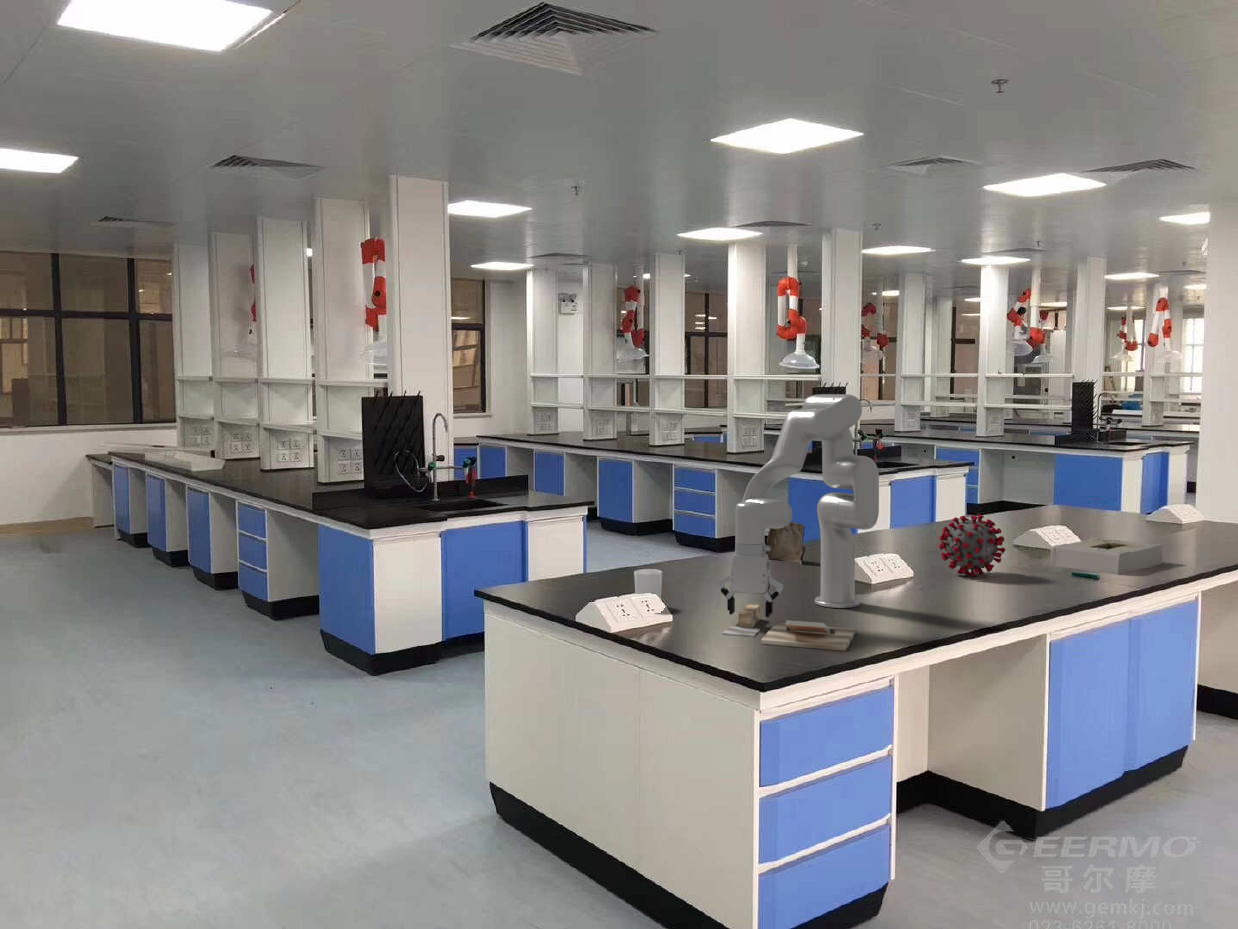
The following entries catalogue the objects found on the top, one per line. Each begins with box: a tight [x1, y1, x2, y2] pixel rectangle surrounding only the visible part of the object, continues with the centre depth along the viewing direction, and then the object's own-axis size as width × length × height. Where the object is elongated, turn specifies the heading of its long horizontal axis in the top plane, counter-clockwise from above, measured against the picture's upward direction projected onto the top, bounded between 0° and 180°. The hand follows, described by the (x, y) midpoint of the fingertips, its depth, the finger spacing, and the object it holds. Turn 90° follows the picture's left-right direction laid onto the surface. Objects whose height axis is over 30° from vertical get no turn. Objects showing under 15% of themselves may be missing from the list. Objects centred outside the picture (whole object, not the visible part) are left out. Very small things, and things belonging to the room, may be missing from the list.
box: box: [1050, 537, 1163, 576], centre depth 330 cm, size 23×8×32 cm
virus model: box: [938, 514, 1006, 577], centre depth 313 cm, size 20×20×20 cm
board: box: [760, 622, 857, 652], centre depth 236 cm, size 18×20×2 cm
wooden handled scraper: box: [722, 603, 761, 638], centre depth 248 cm, size 19×8×4 cm, turn 160°
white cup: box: [633, 568, 663, 600], centre depth 272 cm, size 8×8×10 cm
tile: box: [785, 619, 829, 633], centre depth 233 cm, size 9×9×1 cm
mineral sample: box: [765, 520, 806, 565], centre depth 342 cm, size 17×4×15 cm, turn 41°
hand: (749, 614), depth 250 cm, fingers open, 9 cm apart
